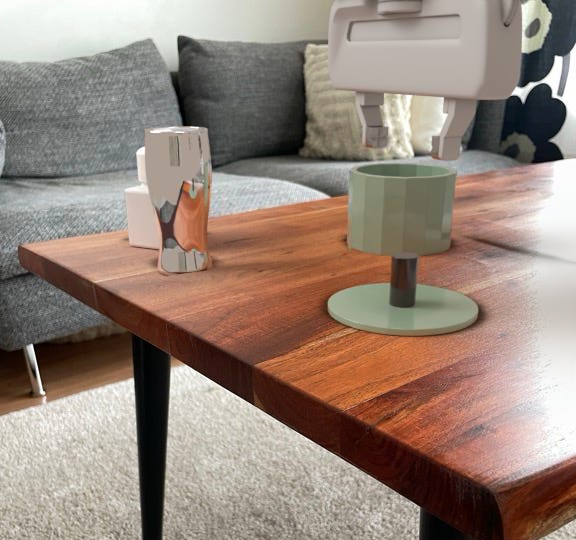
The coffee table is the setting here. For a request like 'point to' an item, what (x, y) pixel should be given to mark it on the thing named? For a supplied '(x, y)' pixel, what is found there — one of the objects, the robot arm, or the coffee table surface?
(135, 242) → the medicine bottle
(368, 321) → the lid
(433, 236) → the tin
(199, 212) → the beer glass
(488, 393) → the coffee table surface
